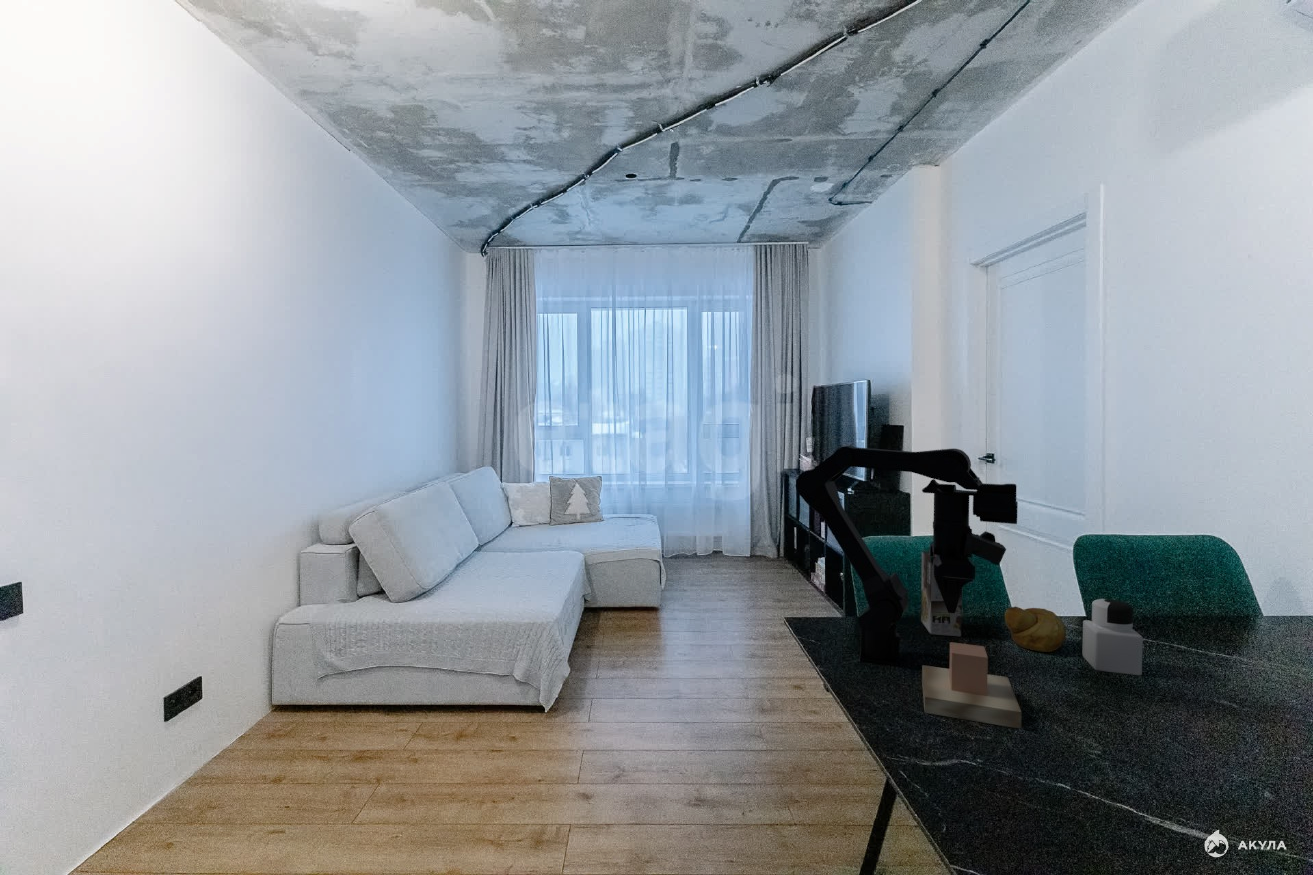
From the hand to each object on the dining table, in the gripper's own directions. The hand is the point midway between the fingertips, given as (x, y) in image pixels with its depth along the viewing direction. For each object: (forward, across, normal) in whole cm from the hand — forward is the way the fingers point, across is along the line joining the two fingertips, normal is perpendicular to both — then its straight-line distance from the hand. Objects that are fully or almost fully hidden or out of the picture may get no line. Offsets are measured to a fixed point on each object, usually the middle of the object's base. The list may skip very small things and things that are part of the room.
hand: (949, 605), depth 109 cm
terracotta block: (+10, -12, -2) cm, 15 cm away
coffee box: (+12, +24, 0) cm, 27 cm away
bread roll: (+12, +22, -18) cm, 31 cm away
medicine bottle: (+12, +14, -28) cm, 34 cm away
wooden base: (+12, -12, -2) cm, 17 cm away
